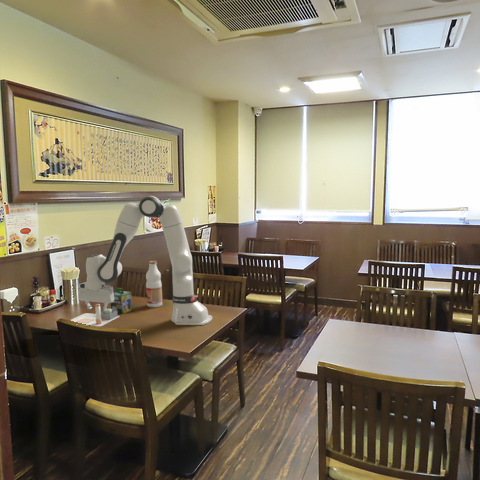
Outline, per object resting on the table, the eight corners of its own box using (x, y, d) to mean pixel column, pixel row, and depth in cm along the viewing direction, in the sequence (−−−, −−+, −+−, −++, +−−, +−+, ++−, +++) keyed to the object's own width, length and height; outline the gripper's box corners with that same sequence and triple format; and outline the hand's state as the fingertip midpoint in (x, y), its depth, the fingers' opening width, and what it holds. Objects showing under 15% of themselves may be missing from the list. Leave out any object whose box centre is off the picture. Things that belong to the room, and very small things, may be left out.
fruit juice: (159, 307, 237) (157, 262, 234) (144, 307, 239) (142, 262, 235) (164, 303, 246) (162, 260, 243) (150, 303, 248) (148, 260, 245)
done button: (113, 313, 220) (113, 308, 219) (109, 315, 216) (108, 310, 216) (107, 313, 221) (107, 308, 221) (103, 315, 217) (103, 310, 217)
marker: (102, 322, 210) (101, 303, 209) (99, 324, 207) (98, 305, 206) (98, 322, 211) (97, 303, 209) (95, 324, 208) (93, 305, 207)
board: (120, 316, 221) (120, 310, 221) (100, 327, 204) (100, 320, 204) (85, 314, 228) (84, 308, 228) (63, 324, 211) (62, 317, 211)
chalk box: (133, 310, 233) (131, 286, 231) (122, 314, 225) (120, 290, 223) (121, 308, 237) (120, 285, 236) (110, 313, 229) (108, 288, 227)
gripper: (116, 284, 206) (117, 309, 208) (83, 282, 212) (85, 306, 214) (108, 287, 200) (110, 313, 202) (75, 284, 206) (77, 309, 208)
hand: (97, 309), depth 208 cm, fingers open, 8 cm apart
